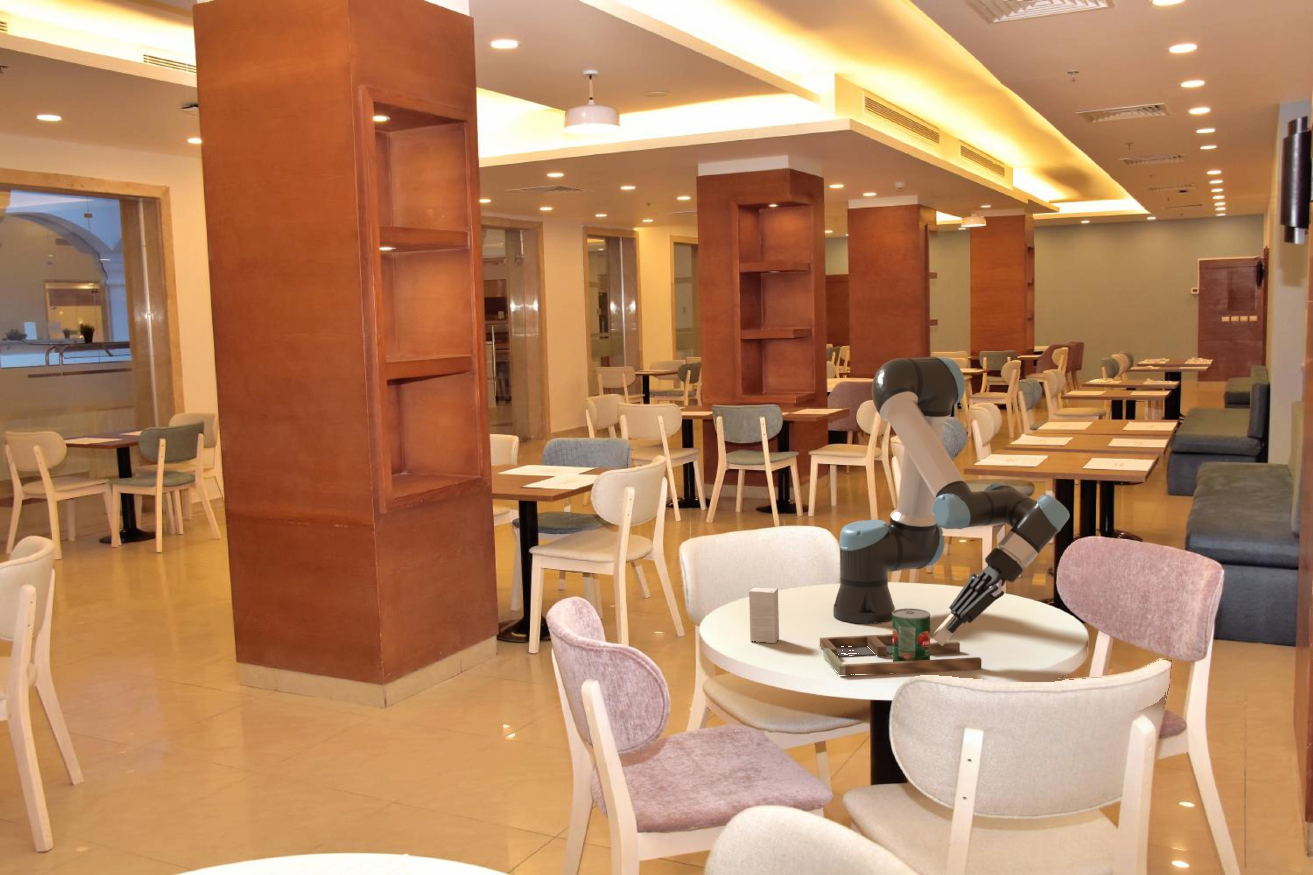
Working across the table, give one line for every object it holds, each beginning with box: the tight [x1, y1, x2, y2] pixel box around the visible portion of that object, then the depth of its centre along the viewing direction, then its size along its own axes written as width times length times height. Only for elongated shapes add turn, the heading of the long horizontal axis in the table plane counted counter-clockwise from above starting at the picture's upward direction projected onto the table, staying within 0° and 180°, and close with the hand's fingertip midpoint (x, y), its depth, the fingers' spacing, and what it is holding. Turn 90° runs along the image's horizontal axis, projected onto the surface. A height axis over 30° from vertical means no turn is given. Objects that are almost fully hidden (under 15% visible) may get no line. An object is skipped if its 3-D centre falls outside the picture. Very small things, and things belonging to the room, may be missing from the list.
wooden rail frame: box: [819, 633, 982, 675], centre depth 242 cm, size 30×22×2 cm
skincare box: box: [748, 587, 780, 644], centre depth 257 cm, size 6×4×12 cm
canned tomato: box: [891, 608, 931, 662], centre depth 237 cm, size 8×8×11 cm
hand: (936, 641), depth 237 cm, fingers closed
